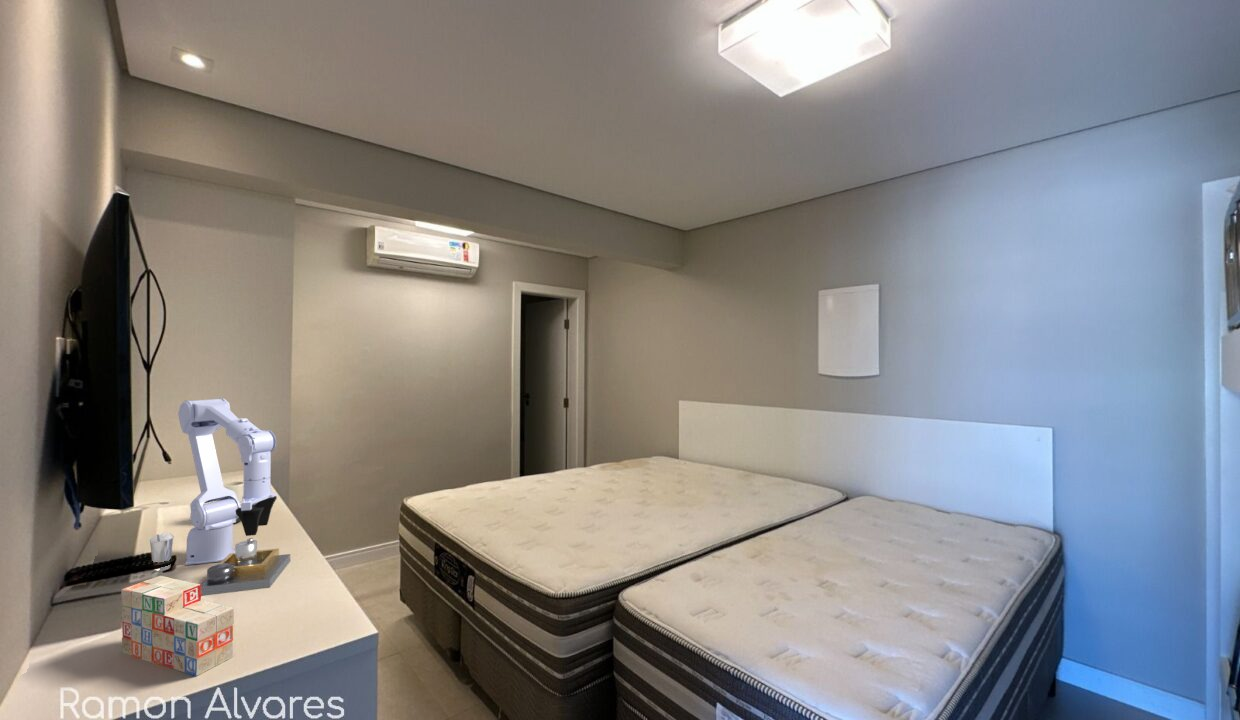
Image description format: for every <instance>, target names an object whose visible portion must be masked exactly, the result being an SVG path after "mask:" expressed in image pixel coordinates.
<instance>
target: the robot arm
mask: <svg viewBox="0 0 1240 720" xmlns="http://www.w3.org/2000/svg"><path fill="white" fill-rule="evenodd" d="M177 415H178V420H179V425H180V427H181V433H183V434H187V435H188V440H189V444H190V449H191V453H192V458H193V463H194V466H195V467H194V468H195V471H196V477H197V479H198V485H199V489H200V494H198V495H197V496H196V497H195V498H194V499H193V500H192V501H191V502H190V506H189V507H190V516H189V517H190V523H191V524H192V526H194V527H191V529H189V531H188V533H187V537H186V561H185V566H188V565H189V566H191V565H198V564H199V565H200V564H208V563H209V564H211V563H220V562H221V561H222V560H223V559H224V558H225V557H227V556H228V555H229V554H230V553H235V548H234V523H237V522H236V519H237V518H238V517H239V518H240V522H241V524H242V525H241V526H242V528H243V531H244V534H245V535H244V536H246V537H251V536H256V535H257V533H258V529H259V526H260V527H261V526H262V527H263V526H267V525H268V523H269V520H270V516H271V512H272V510H273V509H272V508H273V505H274V504H275V502H276V500H277V499H278V497H277V495H276V494H277V493H276V492H272V486H271V482H272V481H271V476H272V474H271V469H272V468H271V466H272V465H271V464H272V463H271V461H272V460H271V459H272V458H271V457H272V452H273V451H274V450H276V449H275V448H276V447H277V438H276V435H275V434H274V433H273V431H272V430H270V429H269V430H268V429H267V430H263V429H262V430H261V429H260V428H258V427H257V426H256V425H255V424H253V423H252V422H251V421H250V420H249V419H248V418H247V417H244V418H243V417H242V418H241V417H240V418H239V417H237V415H235V413H233V412H232V411H231V405H230V402H229V401H227V399H226V398H222V397H220V398H214V399H210V398H209V399H197V400H195V399H194V400H184V401H182V403H181V404H180V405H179V409H178V412H177ZM221 427H224V428H225V434H226V436H228V437H229V439H231V440H233V441H234V442H235V443H236V444H237V447H238V451H239V454H240V460H241V462H242V463H243V481H242V482H243V497H242V500H243V502H241V503H240V502H239V500H238V498H237V496H236V493H235V492H234V491H232V490H229V489H227V488H225V487H224V485H223V483H224V481H223V477H222V472H221V468H220V464H219V463H220V462H219V458H218V454H217V451H216V447H215V446H216V445H215V442H214V436H213V434H214V432H216V431H218V430H219V429H221ZM217 500H220V501H217Z"/></svg>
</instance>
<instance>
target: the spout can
mask: <svg viewBox="0 0 1240 720" xmlns="http://www.w3.org/2000/svg"><path fill="white" fill-rule="evenodd" d="M234 549H235V566H243V565H253V564H257V551H258V541H257V540H255V539H254V538H253V537H251V538H247V540H243V541H240V542H237V543H236V544H235V548H234Z"/></svg>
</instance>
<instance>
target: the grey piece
mask: <svg viewBox="0 0 1240 720" xmlns="http://www.w3.org/2000/svg"><path fill="white" fill-rule="evenodd" d="M290 562H291V553H287V554H280V547H279V548H270V549H260V550H258V549H257V564H253V565H243V566H235V553H230V554H229V555H228V556H227V557H225V558H224V559H223V560H222V561H220V562H218V563H217V564H216V565H213V566H210V567H208V568H207V570H206V580H205V581H204V582H203V584H200V585H201V597H203V596H208V595H209V596H210V595H217V594H218V595H219V594H225V593H233V592H241V591H242V592H243V591H251V590H257V589H267V588H271V587H272V585H273V584H274V583H275V581H276V580H277V579H278V578H279V577H280V576H281V574H282V572H283V571H284V570H285V569H286V568H287V567H288V565H289V563H290Z"/></svg>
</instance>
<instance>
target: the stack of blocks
mask: <svg viewBox="0 0 1240 720" xmlns="http://www.w3.org/2000/svg"><path fill="white" fill-rule="evenodd" d="M201 585H202V584H200V583H197V582H195V583H194V582H191V581H190V582H189V581H185V580H181V579H176V578H171V577H168V576H163V575H159V576H155V577H151V578H150V579H146V580H144V581H142V582H138V583H136V584H132V585H130V586H127V587H124V588H122V589H121V593H120V594H121V621H122V622H121V623H122V625H121V629H122V630H121V631H122V637H121V648H122V649H121V651H122V653H124V654H126V655H129V656H132V657H134V658H136V659H139V660H143V661H146V662H149V663H153V664H157V665H159V666H164V667H167V668H171V669H173V670H175V671H179V672H180V673H181V672H182V673H185V674H188V675H191V676H194V677H197V676H199V675H202V674H203V673H206V672H207V671H209V670H210V669H213V668H214V667H217V666H219V665H220V664H222V663H225V662H226V661H227V660H230V659H231V658H233V655H234V654H233V653H234V651H233V649H234V647H233V641H234V624H235V623H234V621H235V619H234V617H235V616H234V615H235V611H234V610H235V608H234V607H230V606H226V605H223V604H219V603H216V602H211V601H207V600H202V596H201Z"/></svg>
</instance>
